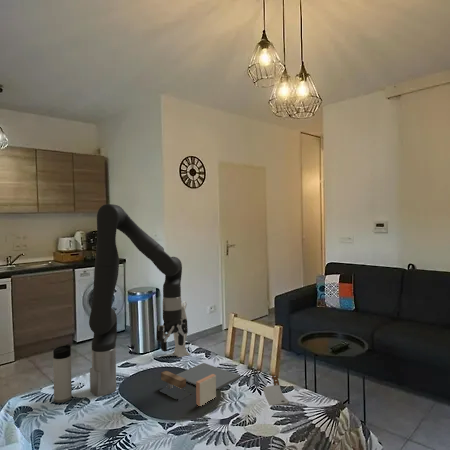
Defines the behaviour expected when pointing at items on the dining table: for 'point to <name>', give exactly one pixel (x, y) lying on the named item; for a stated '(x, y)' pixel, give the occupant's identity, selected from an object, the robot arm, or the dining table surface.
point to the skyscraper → (179, 349)
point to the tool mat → (206, 370)
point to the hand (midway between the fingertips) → (172, 348)
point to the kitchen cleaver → (275, 393)
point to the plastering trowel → (173, 380)
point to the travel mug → (62, 374)
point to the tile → (205, 389)
